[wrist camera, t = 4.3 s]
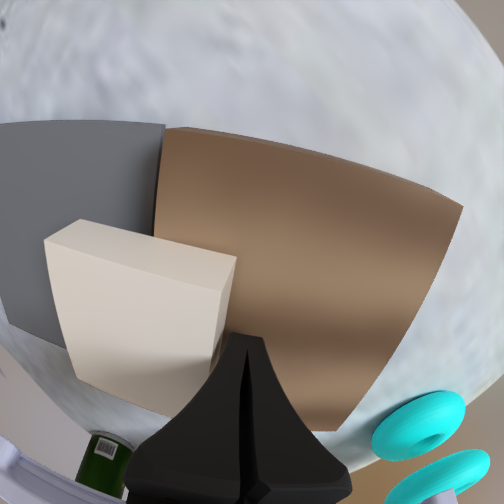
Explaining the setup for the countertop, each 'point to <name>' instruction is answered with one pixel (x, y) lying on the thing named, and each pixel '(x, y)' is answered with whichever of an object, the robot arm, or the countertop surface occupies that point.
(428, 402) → the donuts
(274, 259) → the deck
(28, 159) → the mat
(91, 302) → the tile
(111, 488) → the beer can
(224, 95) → the countertop surface
